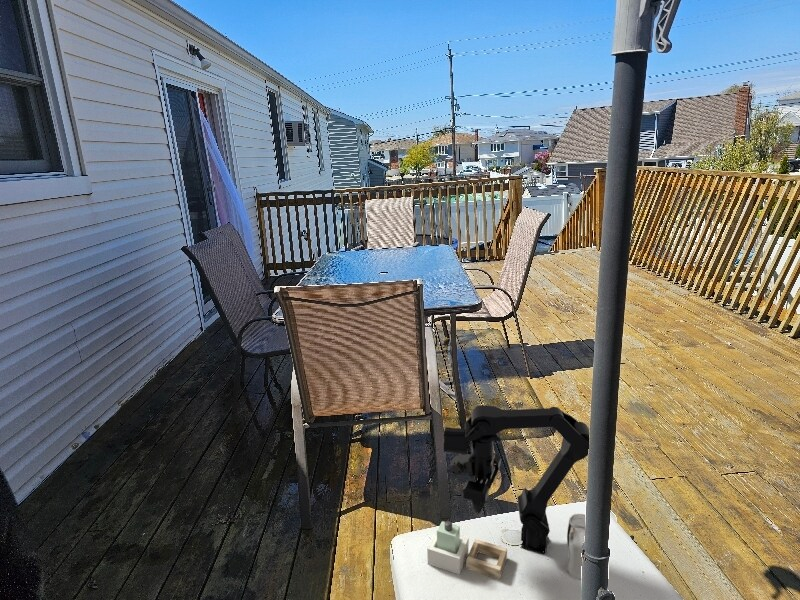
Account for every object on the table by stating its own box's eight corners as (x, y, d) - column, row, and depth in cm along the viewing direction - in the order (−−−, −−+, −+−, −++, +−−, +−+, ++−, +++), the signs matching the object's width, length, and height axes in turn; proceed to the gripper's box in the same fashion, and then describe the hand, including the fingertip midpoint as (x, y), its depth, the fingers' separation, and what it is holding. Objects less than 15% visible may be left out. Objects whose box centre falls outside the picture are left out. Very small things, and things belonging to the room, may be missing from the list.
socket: (468, 552, 138) (468, 537, 137) (459, 574, 131) (459, 558, 130) (437, 543, 142) (437, 528, 140) (427, 563, 135) (427, 548, 134)
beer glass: (594, 582, 128) (599, 534, 123) (565, 578, 129) (569, 530, 125) (590, 561, 134) (594, 514, 130) (563, 558, 136) (566, 511, 131)
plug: (459, 550, 137) (459, 521, 134) (454, 561, 133) (454, 531, 131) (442, 545, 139) (442, 516, 136) (437, 555, 135) (436, 526, 133)
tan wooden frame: (506, 557, 136) (507, 548, 135) (499, 579, 129) (500, 570, 129) (474, 547, 140) (475, 538, 139) (466, 568, 133) (466, 559, 132)
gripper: (463, 429, 146) (463, 475, 150) (442, 466, 130) (443, 516, 134) (501, 436, 141) (501, 483, 146) (485, 475, 125) (484, 527, 130)
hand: (482, 501), depth 139 cm, fingers open, 9 cm apart
